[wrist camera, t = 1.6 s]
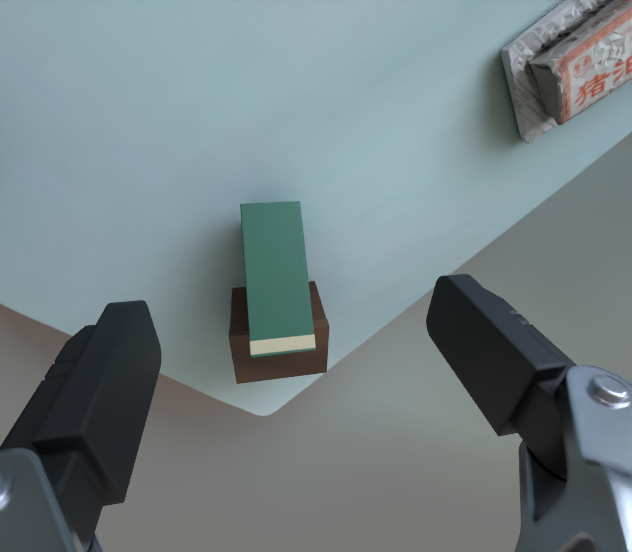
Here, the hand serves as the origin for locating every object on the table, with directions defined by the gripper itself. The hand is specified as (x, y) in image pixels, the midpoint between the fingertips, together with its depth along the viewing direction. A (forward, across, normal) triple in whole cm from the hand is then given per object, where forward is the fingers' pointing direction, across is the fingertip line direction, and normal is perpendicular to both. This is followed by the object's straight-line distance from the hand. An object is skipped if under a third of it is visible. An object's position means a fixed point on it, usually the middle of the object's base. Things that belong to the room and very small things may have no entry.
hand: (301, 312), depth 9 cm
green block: (+20, 0, +12) cm, 23 cm away
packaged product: (+26, -32, -9) cm, 42 cm away
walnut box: (+26, -1, +20) cm, 33 cm away
